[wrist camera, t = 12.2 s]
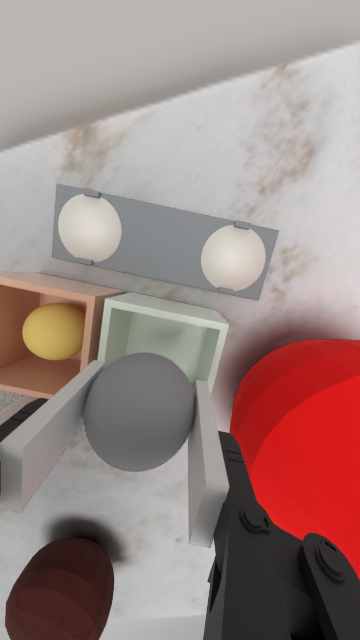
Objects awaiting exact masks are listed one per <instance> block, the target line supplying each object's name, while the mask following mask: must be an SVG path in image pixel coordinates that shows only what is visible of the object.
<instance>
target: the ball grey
mask: <svg viewBox="0 0 360 640" xmlns="http://www.w3.org/2000/svg"><path fill="white" fill-rule="evenodd" d="M194 413H195V401H194V395H193V391H192V387H191V385H190V383H189V380H188V378H187V377H186V375H185V374H184V372H183V371H182V370H181V369H180V368H179V367H178V366H177V365H176V364H175V363H174V362H172V361H171V360H169V359H168V358H166V357H164V356H161V355H158V354H154V353H146V352H141V353H133V354H129V355H126V356H124V357H121V358H119V359H117V360H116V361H114V362H112V363H111V364H110V365H108V366H107V367H106V368H105V369H104V370H103V371H102V372H101V373H100V374H99V376H98V377H97V378H96V380H95V381H94V383H93V385H92V386H91V388H90V391H89V393H88V396H87V399H86V403H85V408H84V425H85V430H86V434H87V438H88V440H89V442H90V444H91V446H92V448H93V449H94V451H95V452H96V454H97V455H98V456H99V457H100V458H101V459H102V460H104V461H105V462H106V463H108V464H109V465H111V466H113V467H115V468H117V469H120V470H124V471H130V472H139V471H146V470H150V469H153V468H156V467H158V466H160V465H162V464H164V463H165V462H167V461H168V460H169V459H170V458H172V457H173V456H174V455H175V454H176V453H177V452H178V451H179V450H180V448H181V447H182V446H183V444H184V443H185V441H186V439H187V437H188V435H189V433H190V431H191V428H192V424H193V420H194Z"/></svg>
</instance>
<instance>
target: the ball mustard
mask: <svg viewBox="0 0 360 640" xmlns="http://www.w3.org/2000/svg"><path fill="white" fill-rule="evenodd" d="M85 318H86V316H85V315H84V314H83V312H81V311H80V310H79V309H78V308H76V307H74V306H72V305H69V304H66V303H49V304H46V305H43V306H40V307H38V308H37V309H35V310H34V311H33V312H32V313H30V315H29V316H28V317H27V319H26V320H25V323H24V325H23V339H24V342H25V344H26V346H27V347H28V349H29V350H30V351H31V352H32V353H34V354H35V355H37V356H39V357H41V358H44V359H47V360H63V359H67V358H70V357H72V356H74V355H76V354H77V353H79V352H80V351H81V350H82V346H83V337H84V327H85Z"/></svg>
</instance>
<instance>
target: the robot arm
mask: <svg viewBox="0 0 360 640" xmlns="http://www.w3.org/2000/svg"><path fill="white" fill-rule="evenodd" d="M105 364H106V362H102V361H97V360H94V361H92V362H91V363H90V364H89V365H88V366H87V367H86V368H84V369H83V370H82V371H81V372H80V373H79V374H78V375H76V376H75V377H74V378H73V379H72V380H71V381H70V382H69V383H67V384H66V385H65V386H64V387H63V388H62V389H61V390H59V391H58V392H57V393H56V394H55V395H54V396H53V397H52V398H50V399H46V398H38V399H36V400H34V401H32V402H30V403H28V404H26V405H25V406H24V407H23V408H21V409H20V410H19V411H18V413H15V414H14V415H13V416H11V417H10V419H7V420H6V421H5V422H4V423H2V424H1V425H0V509H3V510H8V511H14V512H19V513H21V512H22V511H23V509H24V508H25V506H26V505H27V504H28V502H29V501H30V499H31V498H32V496H33V495H34V494H35V492H36V491H37V489H38V488H39V487H40V485H41V484H42V482H43V481H44V479H45V478H46V477H47V475H48V474H49V472H50V471H51V470H52V468H53V467H54V465H55V464H56V462H57V461H58V460H59V458H60V457H61V455H62V454H63V453H64V451H65V450H66V448H67V447H68V445H69V444H70V443H71V441H72V440H73V438H74V437H75V436H76V434H77V433H78V431H79V430H80V428H81V427H82V426H83V424H84V408H85V403H86V399H87V396H88V393H89V391H90V388H91V386H92V385H93V383H94V381H95V380H96V378H97V377H98V376H99V374H100V373H101V372H102V371H103V370H104V369H105ZM193 395H194V401H195V413H194V420H193V424H192V428H191V431H190V433H189V435H188V490H189V544H190V545H196V546H201V547H206V548H211V544H212V541H213V538H214V543H215V553H216V556H215V559H214V562H213V565H212V568H211V571H210V575H209V578H208V581H207V582H209V583H210V590H209V598H208V606H207V614H206V622H205V630H204V637H203V640H360V579H359V578H358V576H357V574H356V572H355V570H354V568H353V567H352V565H351V564H350V562H349V561H348V559H347V558H346V556H345V555H344V554H343V553H342V552H341V551H340V550H339V548H338V547H337V546H336V545H335V544H333V543H332V542H331V541H330V540H328V539H327V538H326V537H324V536H322V535H319V534H317V533H308V534H307V535H306V536H304V538H303V540H301V539H299V538H297V537H295V536H293V535H292V534H290V533H288V532H286V531H284V530H283V529H281V528H280V527H278V526H277V525H275V524H274V523H273V522H272V520H271V519H270V517H269V515H268V513H267V512H266V510H265V509H264V508H263V507H262V506H261V505H260V504H259V503H258V502H257V499H256V496H255V493H254V490H253V487H252V484H251V481H250V478H249V474H248V471H247V468H246V465H245V464H244V459H243V456H242V452H241V449H240V446H239V443H238V442H237V440H236V439H235V437H234V436H233V435H232V434H231V433H226V432H221V431H218V430H217V425H216V420H215V415H214V410H213V406H212V401H211V396H210V391H209V386H208V382H205V381H200V380H196V383H195V387H194V391H193Z"/></svg>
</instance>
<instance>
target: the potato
mask: <svg viewBox="0 0 360 640" xmlns="http://www.w3.org/2000/svg"><path fill="white" fill-rule="evenodd" d="M113 590H114V573H113V567H112V564H111V561H110V559H109V556H108V554H107V552H106V551H105V550H104V549H103V548H102V546H101V545H99V544H97V543H95V542H93V541H90V540H88V539H81V538H65V539H61V540H56V541H54V542H51V543H49V544H47V545H46V546H44V547H43V548H41V549H40V550H39V551H38V552H37V553H36V554H35V555H34V556H33V557H32V559H31V560H30V562H29V563H28V564H27V566H26V567H25V569H24V570H23V571H22V573H21V574H20V576H19V578H18V579H17V581H16V582H15V584H14V585H13V588H12V590H11V592H10V595H9V597H8V600H7V602H6V616H5V627H6V629H7V632H8V635H9V637H10V639H11V640H99V638H100V636H101V634H102V632H103V630H104V628H105V626H106V623H107V619H108V616H109V612H110V609H111V605H112V599H113Z"/></svg>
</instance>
